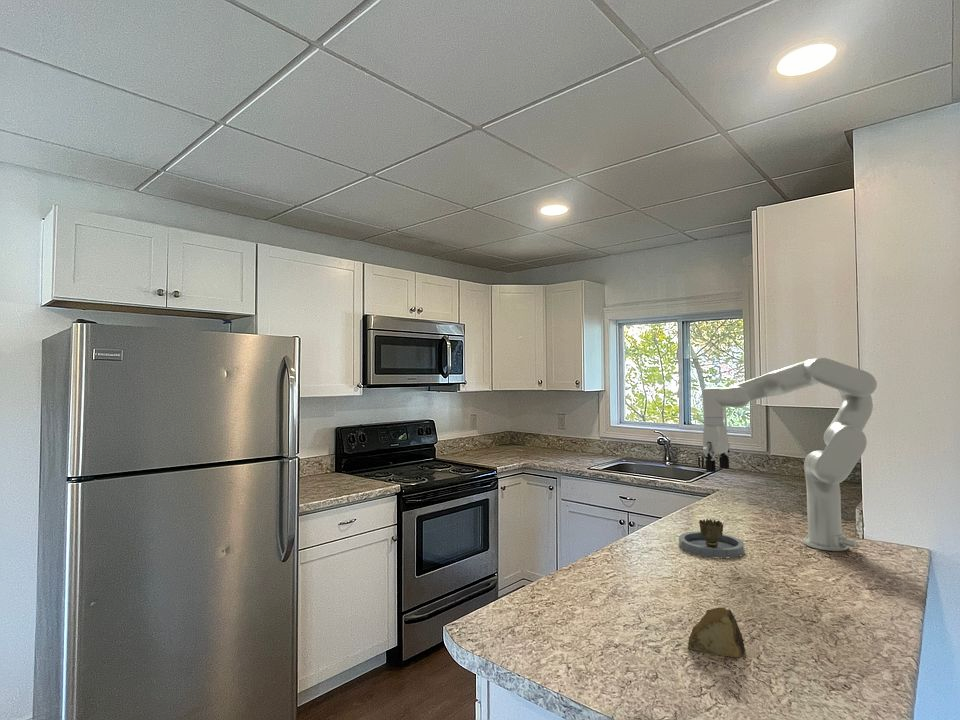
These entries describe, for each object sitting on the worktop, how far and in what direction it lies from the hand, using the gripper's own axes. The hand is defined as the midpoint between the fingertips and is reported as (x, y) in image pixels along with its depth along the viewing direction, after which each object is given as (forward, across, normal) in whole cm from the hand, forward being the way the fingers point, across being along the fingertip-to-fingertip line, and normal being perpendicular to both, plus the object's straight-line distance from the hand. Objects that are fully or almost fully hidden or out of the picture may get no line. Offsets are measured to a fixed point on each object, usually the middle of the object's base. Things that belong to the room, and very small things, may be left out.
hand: (717, 469), depth 186 cm
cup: (+23, +13, +3) cm, 27 cm away
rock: (+24, +76, +36) cm, 88 cm away
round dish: (+24, +14, +3) cm, 28 cm away
